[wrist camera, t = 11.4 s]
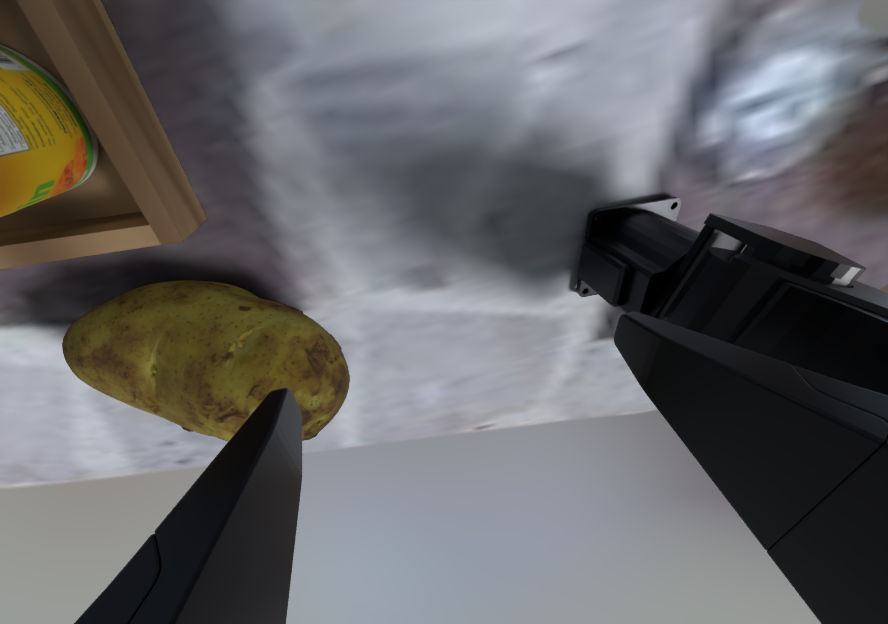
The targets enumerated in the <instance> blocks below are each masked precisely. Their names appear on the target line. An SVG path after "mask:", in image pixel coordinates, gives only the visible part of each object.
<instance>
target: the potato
mask: <svg viewBox="0 0 888 624" xmlns="http://www.w3.org/2000/svg"><path fill="white" fill-rule="evenodd" d="M62 347H63V354H64V357H65V360H66V362H67V364H68V365H69V367H70V369H71V370H72V372H73V373H74V374H75V375H76V376H77V377H78V378H79V379H81V380H82V381H83V382H85V383H86V384H87V385H89V386H91V387H93V388H94V389H96V390H98V391H100V392H102V393H104V394H106V395H108V396H110V397H112V398H115V399H117V400H119V401H121V402H124V403H126V404H128V405H131V406H133V407H135V408H138V409H141V410H143V411H146V412H149V413H152V414H155V415H157V416H160V417H163V418H165V419H167V420H169V421H171V422H173V423H176V424H178V425H180V426H182V428H183V429H184V430H187V431H189V432H193V431H195V432H197V433H201V434H204V435H208V436H214V437H217V438H220V439H222V440H225V441H228V442H229V441H230V439H231V438H232V437H233V436H234V434H235V433H236V432H237V431H238V430H239V428H240V427H241V426H242V425H243V424H244V422H245V421H246V420H247V419H248V418H249V416H250V415H251V414H252V413H253V412H254V410H255V409H256V408H257V407H258V406H259V404H260V403H261V402H262V401H263V399H264V398H265V397H266V396H267V395H268V393H269V392H271V391H273V390H277V389H282V388H289V389H290V390H291V391H292V393H293V395H294V398H295V400H296V402H297V404H298V406H299V408H300V410H301V415H302V441H303V440H309V439H311V438H313V437H315V436H317V434H318V433H319V432H320V431H321V430H322V429H323V428H324V427H325V426H326V425H327V424H328V423H329V422H330V421H331V420H332V419H333V418H334V416H335V415H336V414H337V412H338V411H339V409H340V408H341V406H342V404H343V402H344V400H345V398H346V396H347V392H348V389H349V382H350V376H349V370H348V366H347V363H346V360H345V358H344V356H343V353H342V351H341V347H340V346H339V344H338V343H337V341H336V340H335V339H334V337H333V336H332V335H331V334H329V333H328V332H327V331H326V330H325V329H324V328H323V327H321V326H320V325H319V324H318V323H317V322H315V321H314V320H312V319H311V318H309V317H308V316H306V315H304V314H303V312H302V311H300V310H299V309H296V308H294V307H291V306H288V305H286V304H280V303H277V302H274V301H270V300H265V299H261V298H259V297H257V296H256V295H254V294H252V293H250V292H249V291H247V290H245V289H242V288H240V287H237V286H233V285H229V284H225V283H218V282H209V281H194V280H184V281H167V282H159V283H154V284H149V285H145V286H141V287H138V288H135V289H132V290H130V291H127V292H125V293H123V294H121V295H119V296H117V297H115V298H113V299H111V300H109V301H107V302H105V303H103V304H100V305H98V306H97V307H95V308H93V309H92V310H90V311H89V312H87V313H86V314H85V315H83V316H82V317H80V318H79V319H77V320H76V321H75V322H74V323H73V324H72V325H71V326H70V327H69V328H68V330H67V332H66V334H65V336H64V338H63V343H62Z"/></svg>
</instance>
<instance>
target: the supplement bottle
mask: <svg viewBox="0 0 888 624" xmlns="http://www.w3.org/2000/svg"><path fill="white" fill-rule="evenodd" d="M97 160H98V141H97V136H96V134H95V132H94V130H93V129H92V127H91V125H90V124H89V122H88V120H87V118H86V117H85V115H84V113H83V112H82V110H81V108H80V107H79V105H78V103H77V102H76V100H75V98H74V96H73V95H72V93H71V92H70V91H69V90H68V89H67V88H66V87H65V86H64V85H63V84H62V83H61V82H60V81H59V80H58V79H57V78H55V77H54V76H53V75H52V74H51V73H49V72H48V71H47V70H45V69H44V68H43V67H41V66H40V65H38V64H37V63H35V62H34V61H32V60H31V59H29V58H27V57H26V56H24V55H22V54H20V53H18V52H16V51H14V50H12V49H10V48H8V47H6V46H3V45H1V44H0V217H3V216H5V215H8V214H11V213H13V212H16V211H18V210H20V209H22V208H25V207H27V206H30V205H33V204H35V203H38V202H40V201H43V200H45V199H48V198H50V197H53V196H56V195H58V194H61V193H63V192H66V191H68V190H70V189H72V188H74V187H77V186H78V185H80V184H82V183H83V182H84V181H85V180H87V179H88V178H89V176H90V175H91V174H92V172H93V171H94V169H95V167H96V164H97Z"/></svg>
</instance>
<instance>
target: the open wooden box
mask: <svg viewBox="0 0 888 624" xmlns="http://www.w3.org/2000/svg"><path fill="white" fill-rule="evenodd" d="M0 44H1V45H3V46H6V47H8V48H10V49H12V50H14V51H16V52H18V53H20V54H22V55H24V56H26V57H27V58H29V59H31V60H32V61H34V62H35V63H37V64H38V65H40V66H41V67H43V68H44V69H45V70H47V71H48V72H49V73H51V74H52V75H53V76H54V77H55V78H57V79H58V80H59V81H60V82H61V83H62V84H63V85H64V86H65V87H66V88H67V89H68V90H69V91H70V92H71V93H72V95H73V96H74V98H75V100H76V102H77V103H78V105H79V107H80V108H81V110H82V112H83V113H84V115H85V117H86V118H87V120H88V122H89V124H90V125H91V127H92V129H93V130H94V132H95V134H96V136H97V141H98V160H97V164H96V167H95V169H94V171H93V172H92V174H91V175H90V176H89V178H88V179H87V180H85V181H84V182H83V183H82V184H80V185H78V186H77V187H74V188H72V189H70V190H68V191H66V192H63V193H61V194H58V195H56V196H53V197H50V198H48V199H45V200H43V201H40V202H38V203H35V204H33V205H30V206H27V207H25V208H22V209H20V210H18V211H16V212H13V213H11V214H8V215H5V216H3V217H0V269H5V268H12V267H18V266H25V265H31V264H38V263H45V262H51V261H58V260H64V259H71V258H78V257H84V256H91V255H97V254H104V253H110V252H117V251H124V250H130V249H137V248H143V247H150V246H157V245H163V244H170V243H176V242H183V241H184V240H185V239H186V238H187V237H188V236H190V235H191V234H192V233H193V232H194V231H195V230H196V229H197V228H198V227H199V226H200V225H201V224H202V223H203V222H204V221H205V220H206V219H207V217H206V215H205V213H204V211H203V209H202V207H201V205H200V203H199V201H198V199H197V197H196V195H195V193H194V191H193V189H192V187H191V185H190V183H189V181H188V179H187V176H186V174H185V172H184V170H183V168H182V166H181V164H180V162H179V160H178V158H177V156H176V154H175V152H174V150H173V148H172V146H171V144H170V142H169V140H168V137H167V135H166V133H165V131H164V129H163V127H162V125H161V123H160V121H159V119H158V117H157V115H156V113H155V111H154V109H153V107H152V105H151V103H150V101H149V98H148V96H147V94H146V92H145V90H144V88H143V86H142V84H141V82H140V80H139V78H138V76H137V74H136V72H135V70H134V68H133V66H132V64H131V62H130V59H129V57H128V55H127V53H126V51H125V49H124V47H123V45H122V43H121V41H120V39H119V37H118V35H117V33H116V31H115V29H114V27H113V25H112V23H111V21H110V18H109V16H108V14H107V12H106V10H105V8H104V6H103V4H102V2H101V0H0Z"/></svg>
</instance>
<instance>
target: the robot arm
mask: <svg viewBox="0 0 888 624" xmlns="http://www.w3.org/2000/svg"><path fill="white" fill-rule="evenodd" d="M672 204H673V205H672ZM671 205H672V206H671ZM680 206H681V200H680V199H679V198H676V197H666V198H660V199H654V200H648V201H642V202H636V203H630V204H624V205H618V206H612V207H606V208H599V209H595V210H593V211H592V212H591V213H590V214H589V217H588V223H587V229H586V235H585V241H584V245H583V248H582V254H581V260H580V267H579V273H578V283H577V289H576V291H577V293H578V294H579V295H580V296H581V297H587V296H592V295H597V294H599V295H600V296H601V297H602V298H603V299H605V300H606V301H607V302H608V303H609V304H610V305H611V306H613V307H619V308H620V309H621V310H622V311H624V312H625V314H622V315H621V316H620V317H619V319H618V323H617V326H616V330H615V334H614V342H615V345H616V347H617V348H618V350H619V352H620V353H621V355H622V357H623V358H624V360H625V361H626V363H627V365H628V366H629V368H630V370H631V371H632V373H633V374H634V376H635V378H636V379H637V381H638V383H639V384H640V386H641V387H642V389H643V390H644V391H645V393H646V394H647V396H648V397H649V398H650V400H651V401H652V402H653V404H654V405H655V406H656V407H657V409H658V410H659V411H660V413H661V414H662V415H663V417H664V418H665V419H666V421H667V422H668V423H669V424H670V426H671V427H672V428H673V430H674V431H675V432H676V434H677V435H678V436H679V438H680V439H681V440H682V441H683V443H684V444H685V445H686V447H687V448H688V449H689V451H690V452H691V453H692V455H693V456H694V457H695V458H696V459H697V461H698V462H699V464H700V465H701V466H702V468H703V469H704V470H705V472H706V473H707V474H708V475H709V477H710V478H711V479H712V481H713V482H714V483H715V485H716V486H717V487H718V489H719V490H720V491H721V492H722V494H723V495H724V496H725V498H726V499H727V500H728V502H729V503H730V504H731V506H732V507H733V508H734V509H735V511H736V512H737V513H738V515H739V516H740V517H741V518H742V520H743V521H744V523H745V524H746V525H747V527H748V528H749V529H750V530H751V532H752V533H753V534H754V535H755V537H756V538H757V539H758V541H759V542H760V543H761V545H762V546H763V547H764V549H765V550H767V553H768V554H769V556H770V557H771V558H772V560H773V561H774V562H775V563H776V565H777V566H778V567H779V569H780V570H781V571H782V573H783V574H784V575H785V577H786V578H787V579H788V581H789V582H790V583H791V584H792V586H793V587H794V588H795V590H796V591H797V592H798V593H799V595H800V596H801V598H802V599H803V600H804V601H805V603H806V604H807V605H808V607H809V608H810V609H811V611H812V612H813V613H814V615H815V616H816V617H817V619H818V620H819V621H820V622H821V624H888V293H887V292H885V291H882V290H879V289H877V288H874V287H871V286H869V285H866V284H863V283H861V282H858V281H856V280H857V279H858V278H859V277H860V276H861V275H862V274H863V272H864V271H865V270H866V269H867V268H865V267H863V266H861V265H859V264H857V263H856V262H854V261H852V260H850V259H848V258H846V257H844V256H842V255H840V254H838V253H836V252H834V251H832V250H830V249H828V248H826V247H824V246H822V245H820V244H818V243H816V242H813V241H810V240H807V239H804V238H801V237H798V236H795V235H792V234H789V233H786V232H783V231H780V230H777V229H774V228H771V227H767V226H763V225H759V224H754V223H750V222H746V221H742V220H738V219H733V218H729V217H725V216H721V215H716V214H712V213H710V214H709V216H708V217H707V219H706V220H705V222H704V224H705V226H704V227H703V229H702V230H701V232H697V231H695V230H693V229H691V228H688V227H686V226H684V225H681V224H679V223H677V222H675V221H676V218H677V215H678V212H679V209H680ZM598 215H599V217H598V219H597V220H595V218H596V217H597V216H598ZM585 288H586V289H585ZM584 289H585V290H584ZM583 290H584V291H583ZM301 482H302V415H301V410H300V408H299V406H298V404H297V402H296V400H295V398H294V395H293V393H292V391H291V390H290V389H289V388H282V389H277V390H273V391H271V392H269V393H268V395H267V396H266V397H265V398H264V399H263V401H262V402H261V403H260V404H259V406H258V407H257V408H256V409H255V410H254V412H253V413H252V414H251V415H250V416H249V418H248V419H247V420H246V421H245V422H244V424H243V425H242V426H241V427H240V428H239V430H238V431H237V432H236V433H235V434H234V436H233V437H232V438H231V439H230V441H229V442H228V443H227V444H226V445H225V447H224V448H223V449H222V450H221V451H220V453H219V454H218V455H217V456H216V457H215V459H214V460H213V461H212V462H211V463H210V465H209V466H208V467H207V468H206V470H205V471H204V472H203V473H202V474H201V476H200V477H199V478H198V479H197V481H196V482H195V483H194V484H193V485H192V486H191V488H190V489H189V490H188V491H187V493H186V494H185V495H184V496H183V498H182V499H181V500H180V501H179V502H178V503H177V505H176V506H175V507H174V508H173V509H172V511H171V512H170V513H169V514H168V515H167V517H166V518H165V519H164V520H163V521H162V523H161V524H160V525H159V526H158V527H157V529H156V530H155V534H153V535H151V536H150V537H149V538H148V539H147V541H146V542H145V543H144V544H143V545H142V547H141V548H140V549H139V550H138V552H137V553H136V554H135V555H134V556H133V557H132V559H131V560H130V561H129V562H128V563H127V564H126V566H125V567H124V568H123V569H122V570H121V571H120V573H119V574H118V575H117V576H116V577H115V579H114V580H113V581H112V582H111V583H110V584H109V586H108V587H107V588H106V589H105V590H104V591H103V592H102V593H101V595H100V596H99V597H98V598H97V599H96V600H95V601H94V602H93V603H92V605H90V607H89V608H88V609H87V610H86V611H85V612H84V613H83V614H82V616H81V617H80V618H79V619H78V620H77V621H76V622H75V623H74V624H286V616H287V607H288V599H289V590H290V581H291V572H292V562H293V553H294V545H295V536H296V527H297V518H298V509H299V501H300V491H301Z"/></svg>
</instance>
